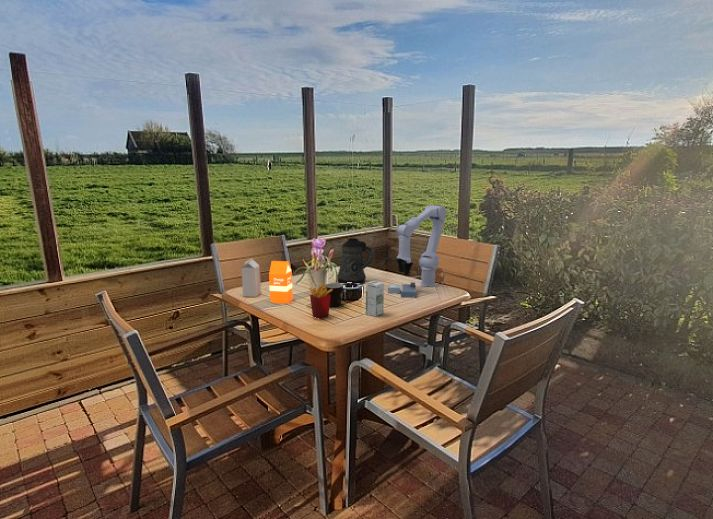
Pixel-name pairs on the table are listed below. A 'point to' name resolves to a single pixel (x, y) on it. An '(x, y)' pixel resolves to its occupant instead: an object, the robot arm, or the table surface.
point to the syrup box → (374, 298)
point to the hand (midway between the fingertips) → (404, 273)
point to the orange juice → (280, 282)
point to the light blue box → (393, 288)
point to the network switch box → (408, 290)
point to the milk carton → (251, 279)
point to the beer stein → (353, 261)
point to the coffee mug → (335, 294)
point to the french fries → (320, 301)
